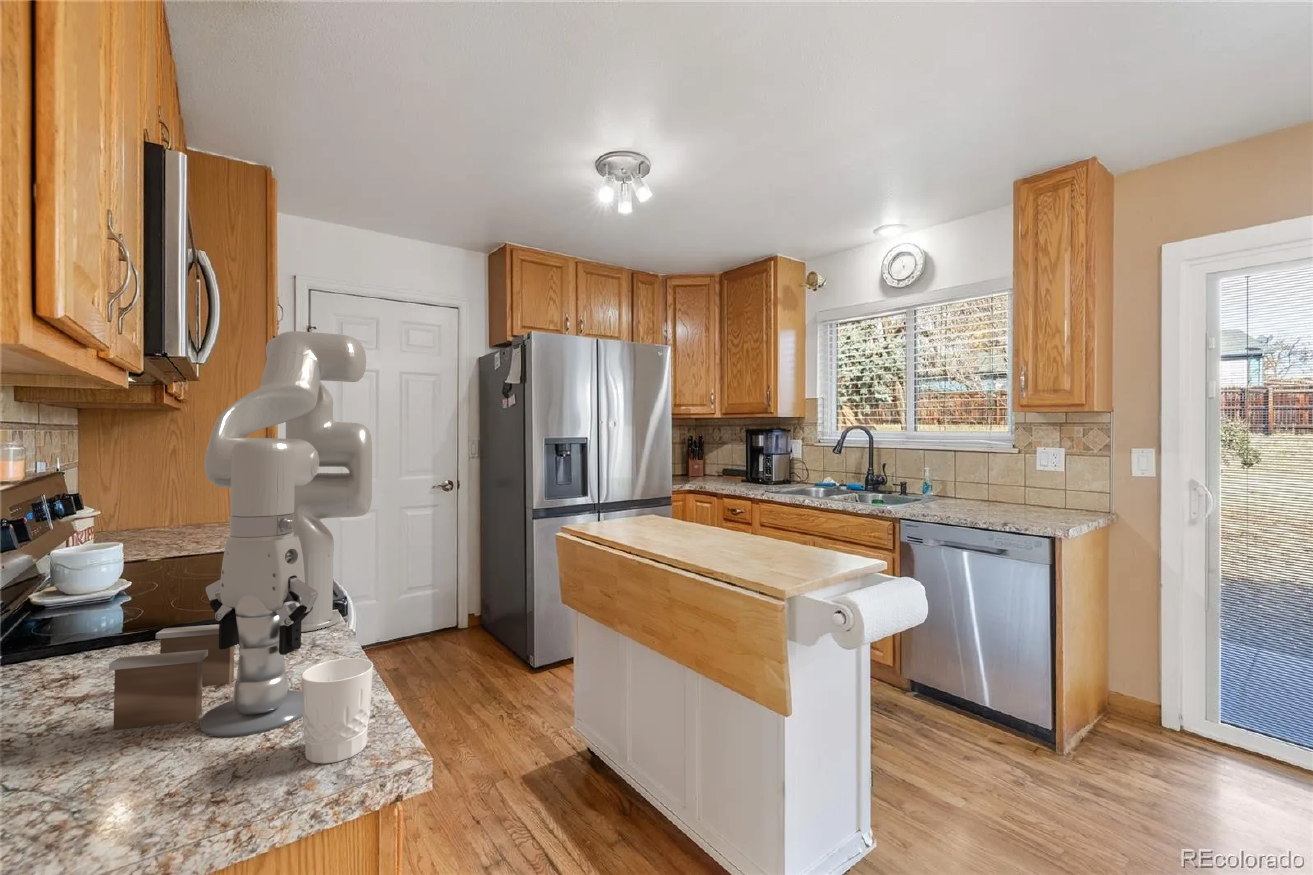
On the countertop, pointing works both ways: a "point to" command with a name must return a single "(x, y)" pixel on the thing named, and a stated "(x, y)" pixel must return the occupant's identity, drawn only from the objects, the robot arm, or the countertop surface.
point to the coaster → (250, 718)
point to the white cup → (336, 708)
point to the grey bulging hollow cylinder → (258, 659)
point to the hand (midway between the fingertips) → (260, 648)
